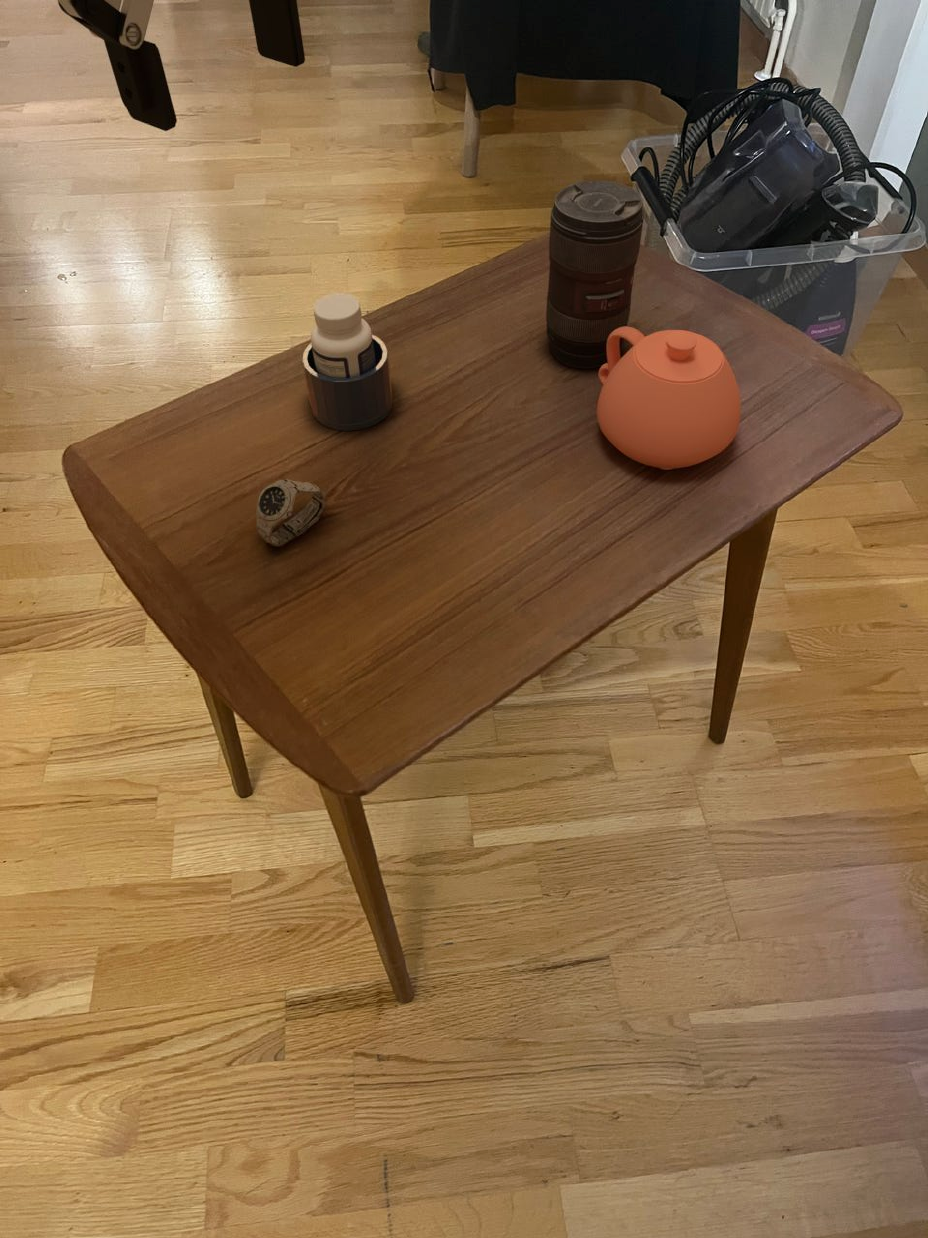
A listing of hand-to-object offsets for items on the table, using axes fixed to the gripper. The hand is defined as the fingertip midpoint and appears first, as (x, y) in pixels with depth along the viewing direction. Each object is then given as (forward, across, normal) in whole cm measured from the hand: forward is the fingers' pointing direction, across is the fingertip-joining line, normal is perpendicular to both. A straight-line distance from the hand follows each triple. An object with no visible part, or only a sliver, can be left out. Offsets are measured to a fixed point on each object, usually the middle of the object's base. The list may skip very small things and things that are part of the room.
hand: (221, 89), depth 50 cm
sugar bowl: (+34, -26, +18) cm, 46 cm away
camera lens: (+34, -33, +6) cm, 47 cm away
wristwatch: (+34, +2, 0) cm, 34 cm away
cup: (+33, -13, -7) cm, 36 cm away
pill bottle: (+33, -13, -7) cm, 36 cm away
